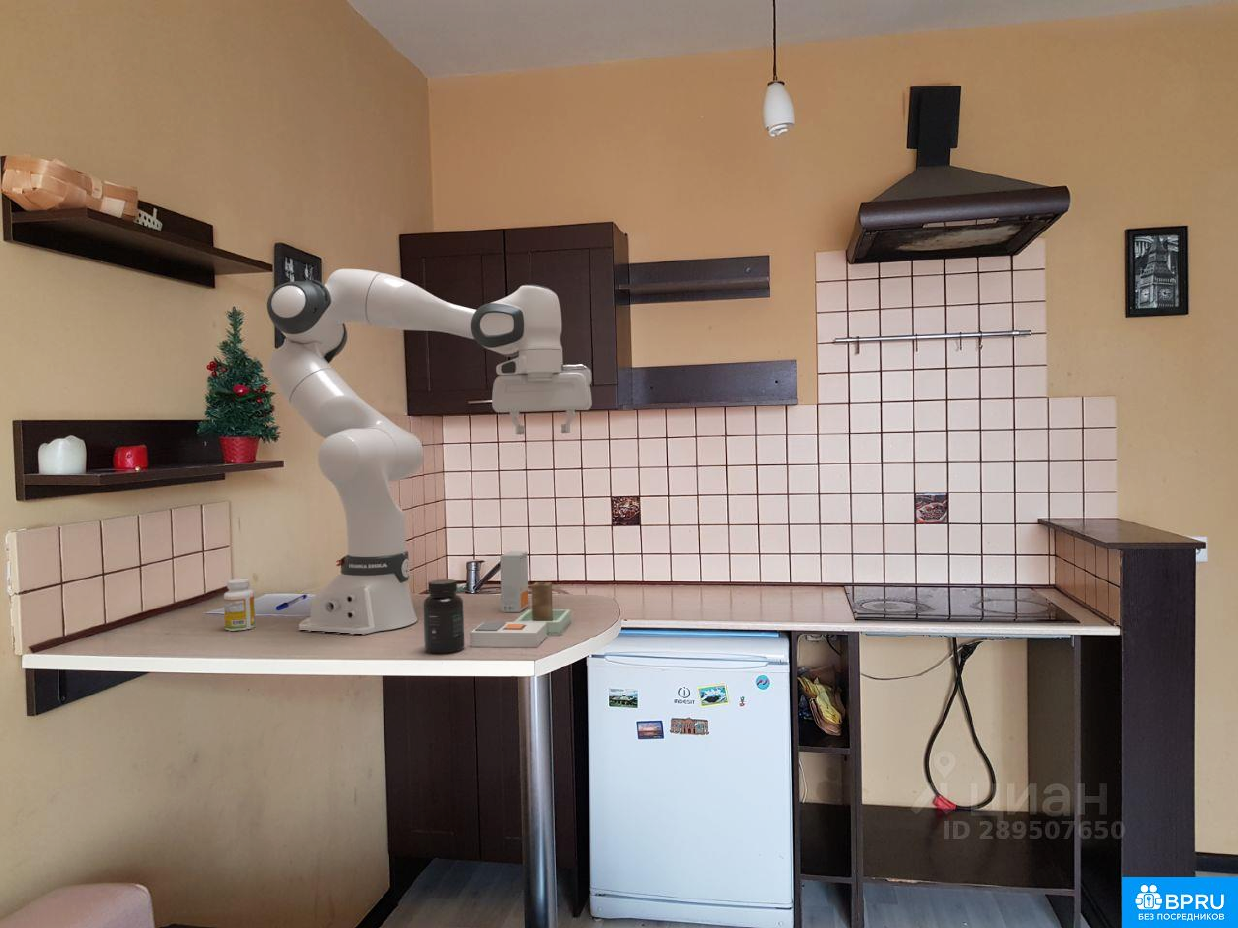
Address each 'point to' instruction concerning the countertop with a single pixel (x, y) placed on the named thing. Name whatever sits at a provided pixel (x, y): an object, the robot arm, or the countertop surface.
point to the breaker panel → (508, 635)
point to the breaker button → (514, 627)
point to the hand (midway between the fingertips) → (543, 433)
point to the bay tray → (553, 627)
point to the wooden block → (542, 601)
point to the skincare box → (514, 581)
